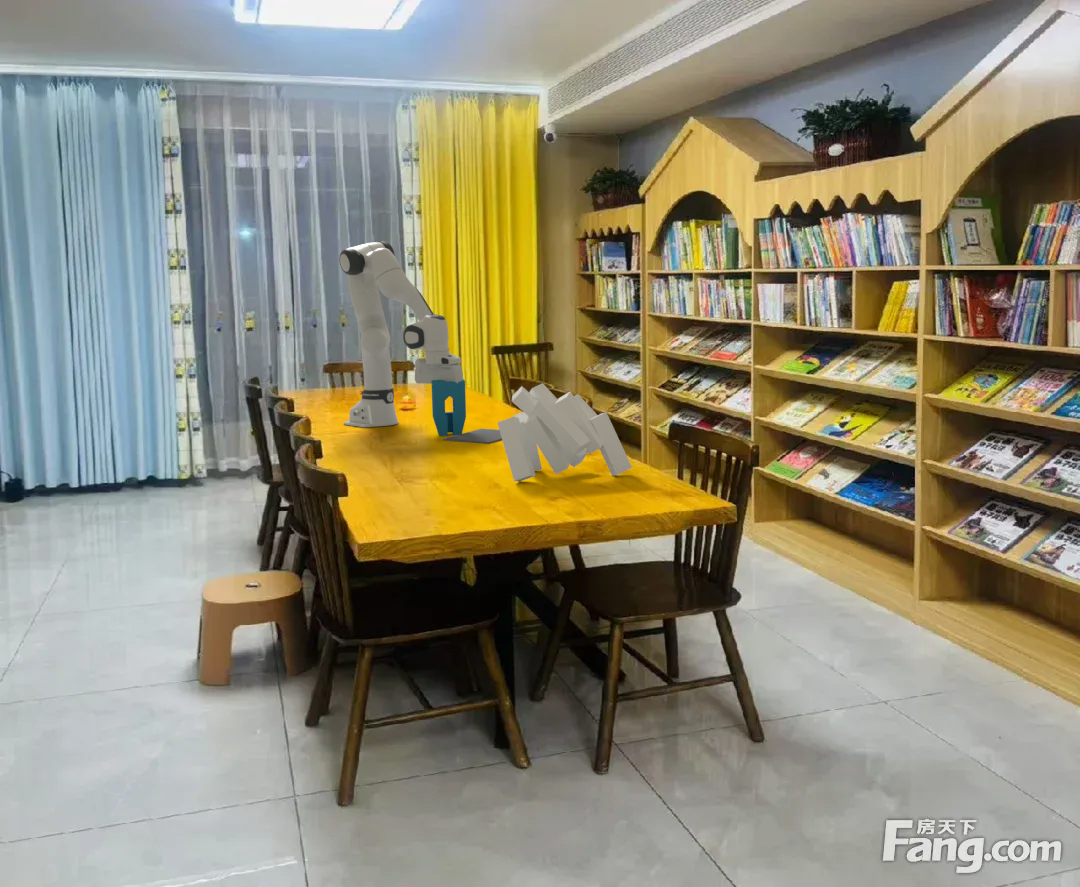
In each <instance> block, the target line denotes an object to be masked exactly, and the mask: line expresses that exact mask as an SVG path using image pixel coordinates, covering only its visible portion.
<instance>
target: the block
mask: <svg viewBox="0 0 1080 887" xmlns="http://www.w3.org/2000/svg"><path fill="white" fill-rule="evenodd" d="M430 385H431V408H432V410H431V412H432V418H433V422H434V425H435V428H436V432H437V435H438V436H440V437H444V436H447V437H448V435H449V433H450V434H452V436H455V435H459V434H463V430H464V426H465V423H466V422H465V421H466V419H467V405H466V404H467V402H466V398H467V397H466V380H465V379H464V378H463V381H460V382H458V383H456V382H452V381H451V382H445V380H432V381H431V384H430ZM448 398H451V399H452V411H446V401H447V399H448Z"/></svg>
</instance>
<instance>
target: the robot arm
mask: <svg viewBox="0 0 1080 887" xmlns="http://www.w3.org/2000/svg"><path fill="white" fill-rule="evenodd" d="M395 255H396V253H395V250H394V248H393V246H392V245H391V244H390V243H389V242H388V241H383V240H381V241H380V240H379V241H378V240H377V241H374V242H367V243H366V242H365V243H362V244H359V245H356V246H355V245H354V246H350V247H346V248H345V249H343V250H342V251H341V252H340V254H339V265H340V268H341V270H342V271H343V272H344V273H345V274H346V275H347V284H348V290H349V292H348V293H349V296H350V299H351V304H352V308H353V311H354V313H353V314H354V316H355V318H356V321H357V325H358V328H359V332H360V335H361V336H360V343H359V344H360V353H361V361H362V363H361V364H362V372H363V386H364V389H363V390H362V391H360V392H359V395H361V399H360V400H359V401H358V402H357V403H356V404H355V405H354V406H352V407H351V408H350V410H349V419H348V420H346V421H343V425H346V426H352V427H361V428H372V427H386V426H387V427H388V426H394V425H397V424H399V420H398V417H397V413H396V408H395V403H394V402H395V401H394V400H395V391H394V388H393V376H392V374H393V373H392V362H391V361H392V360H391V352H390V344H391V335H390V332H389V328H388V323H387V319H386V317H385V312H384V308H383V305H382V302H381V297H380V292H381V294H382V295H383V296H384V297H386V298H388V299H390V300H393V301H396V302H400V303H402V304H404V305H406V306H408V308H410V309H411V310H412V311H413V313H414V315H415V316H416V318H417V320H418V321H417V322H414V323H412V324H408V325H407V326H406V327H405V328H404V331H403V332H402V333H403V335H402V337H403V342H404V345H405V346H406V347H407V348H408V349H410V350H416V351H417V350H424V352H425V353H424V354H425V356H424V357H425V358H421V357H420V358H418V359H416V361H414V363H415V368H414V382H415V383H416V384H426V385H427V384H429V385H431V381H432V380H445V382H451V381H452V382H456V383H458V382H460V381H463V379H464V373H463V366H462V365H461V362H462V358H461V357H460V356H457V355H455V354H452V353H451V352H450V349H449V348H450V347H449V344H448V342H449V326H448V322H447V320H446V317H445V316H443V315H440V314H434V312H433V311H432V309H431V308H430V306H429V304H428V303H427V300H426V299H425V298H424V296H423V294H422V293H421V292H420V291H419V289H418V288H417V287H416V286H415V285H414V284H413V283H412V282H411V281H410V280H409V278H408V276H407V275H406V274H405V272H404V270H403V268H402V266H401V263H400V262H399V260H398V259H397V257H396V256H395ZM379 291H380V292H379Z"/></svg>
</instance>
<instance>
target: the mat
mask: <svg viewBox="0 0 1080 887" xmlns="http://www.w3.org/2000/svg"><path fill="white" fill-rule="evenodd" d="M442 440H443V441H447V442H461V443H475V444H485V445H486V444H488V445H490V444H492V443H497V442H500V441H502V437H501V434H500V430H499V429H495V428H493V429H492V428H479V429H476V430H471V431H467V432H464V433H463V432H462V434H459V435H452V436H447V437H444V438H443V439H442Z"/></svg>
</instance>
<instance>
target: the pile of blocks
mask: <svg viewBox="0 0 1080 887" xmlns="http://www.w3.org/2000/svg"><path fill="white" fill-rule="evenodd" d="M511 402H512V403H513V404H514V405H516V406H517V407H518V408H519V409H520V411H521V412H520V413H517V414H514V415H513V416H512V417H509V418H506V419H503V420H500V421H497V427H498V430H500V434H501V437H502V440H501V441H502V444H503V447H504V451H505V453H506V454H505V455H506V458H507V462H508V464H509V468H510V472H511V474H512V477H513V479H512V480H513V481H514V482H523V481H525V480H528V479H531V478H534V477H536V472H537V471H541V470H542V469H543V468H542V463H541V459H540V454H539V450H540V451H541V453H542V455H543V457H544V458H545V460H546V462H547V463H548V464H549V466H550V468H551V470H553V472H554V473H555V475H558V474H559V473H562V472H563V471H565V470H567V469H569V466H571V467H572V468H575V467H577V466H578V465H580V464H581V463H582V462H583V461H584V460H585V458H586V456H587V454H588V455H590V454H593V453H595V452H596V451H598V450H599V451H600V453H601V455H602V457H603V460H604V461H605V464H606V465H607V467H608V471H609V472H610V474H611V476H612V477H613V476H618V475H620V474H623V473H624V472H626V471H628V470H630V469H632V467H633V466H632V464H631V462H630V460H629V457H628V456H627V454H626V452H625V449H624V447H623V445H622V443H621V441H620V439H619V437H618V433H617V432H616V430H615V427H614V426H613V423H612V422H611V419H610V417H609V415H608V413H607V412H601V413H599V414H597V413H596V412H595V411H594V409H593V408H592V407H591V406H590V405H589V404H588V403H587V402H586V401H585V400H584V399H583V397H581V395H580V394H576V395H573V393H572V392H571V391H569V392H567V393H565V394H563V395H562V396H560V397H559V398H557V397H556V396H555V394H553V393H552V391H551V390H550V389H549V388H547V386H546V384H544V383H540V384H537V385H536V386H534V387H532V388H531V389H530V390H529V391H528V390H527V389H526V388H524V387H523V386H520V387H519V388H518V390H516V391H515V392H514V394H512V397H511Z"/></svg>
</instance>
